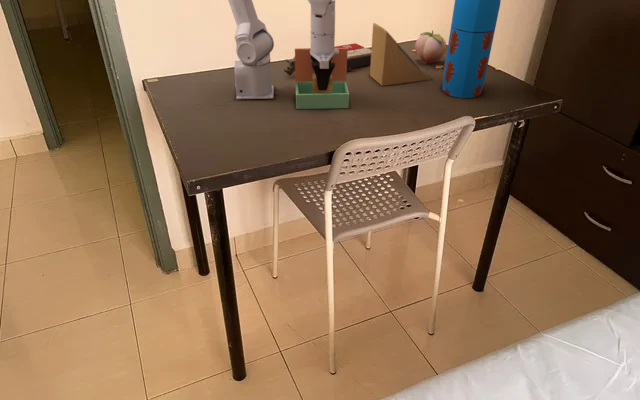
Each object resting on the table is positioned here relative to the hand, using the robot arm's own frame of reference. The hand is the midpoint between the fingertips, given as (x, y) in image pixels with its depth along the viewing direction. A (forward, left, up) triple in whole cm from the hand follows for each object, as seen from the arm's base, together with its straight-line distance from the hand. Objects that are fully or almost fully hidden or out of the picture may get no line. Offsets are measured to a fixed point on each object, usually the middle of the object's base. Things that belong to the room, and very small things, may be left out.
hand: (322, 86), depth 127 cm
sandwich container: (+23, +17, -5) cm, 30 cm away
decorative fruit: (+34, +28, -5) cm, 45 cm away
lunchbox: (0, +1, -5) cm, 5 cm away
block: (0, 0, -1) cm, 1 cm away
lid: (0, +5, +4) cm, 6 cm away
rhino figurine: (-5, +21, -5) cm, 22 cm away
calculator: (+9, +29, -5) cm, 31 cm away
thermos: (+38, +7, -5) cm, 39 cm away
